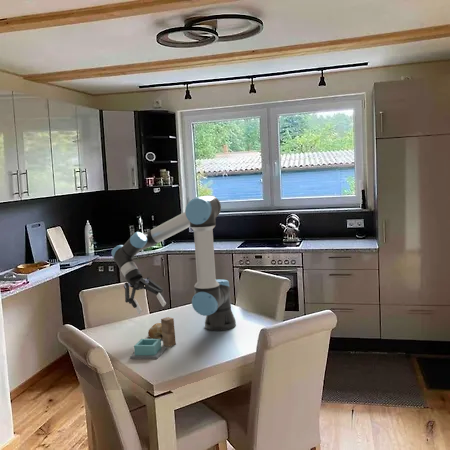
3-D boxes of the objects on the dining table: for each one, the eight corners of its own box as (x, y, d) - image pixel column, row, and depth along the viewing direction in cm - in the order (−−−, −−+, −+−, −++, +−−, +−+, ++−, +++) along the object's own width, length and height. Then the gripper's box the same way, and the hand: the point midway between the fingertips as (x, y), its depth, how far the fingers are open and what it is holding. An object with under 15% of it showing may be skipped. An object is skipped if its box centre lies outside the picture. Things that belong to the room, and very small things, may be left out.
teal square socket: (166, 348, 228) (165, 337, 228) (157, 358, 217) (156, 347, 216) (140, 348, 231) (139, 337, 230) (130, 358, 219) (129, 347, 219)
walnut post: (170, 342, 236) (168, 316, 235) (175, 344, 233) (173, 318, 232) (163, 345, 233) (160, 319, 232) (168, 346, 230) (166, 320, 229)
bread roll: (151, 347, 242) (153, 334, 238) (144, 333, 250) (145, 320, 246) (171, 342, 247) (173, 329, 243) (163, 329, 254) (165, 316, 250)
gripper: (150, 273, 259) (171, 307, 250) (106, 283, 242) (127, 320, 233) (155, 263, 254) (177, 297, 245) (111, 273, 238) (132, 310, 228)
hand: (152, 308), depth 239 cm, fingers open, 13 cm apart
